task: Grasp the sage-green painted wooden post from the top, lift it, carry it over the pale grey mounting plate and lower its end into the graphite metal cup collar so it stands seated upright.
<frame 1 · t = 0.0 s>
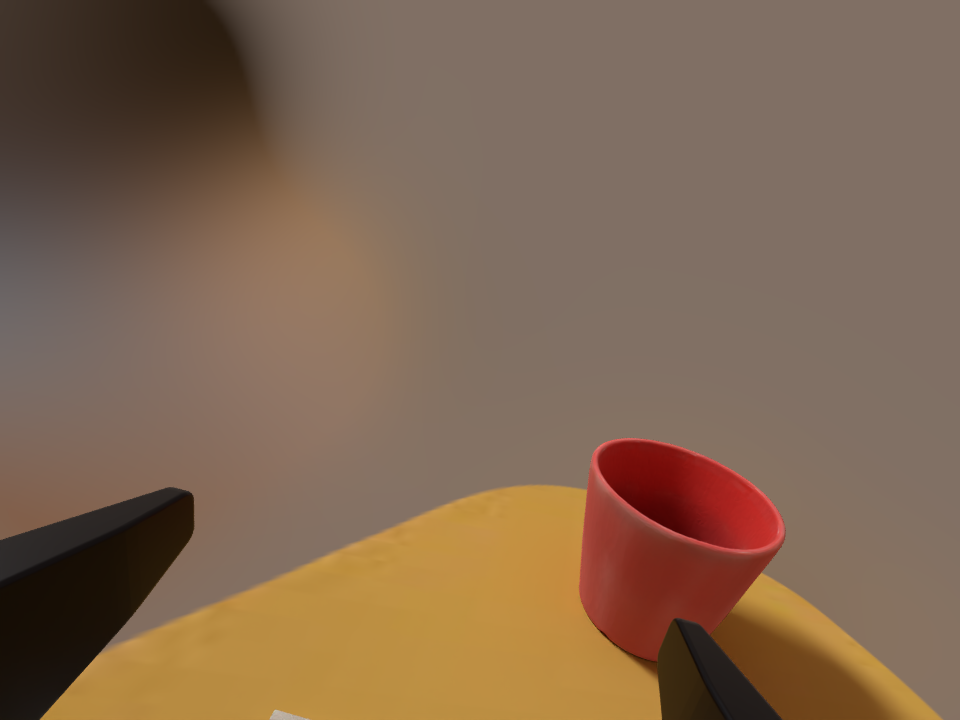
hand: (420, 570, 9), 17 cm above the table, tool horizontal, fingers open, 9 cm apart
flower pot: (635, 611, 31), on the table
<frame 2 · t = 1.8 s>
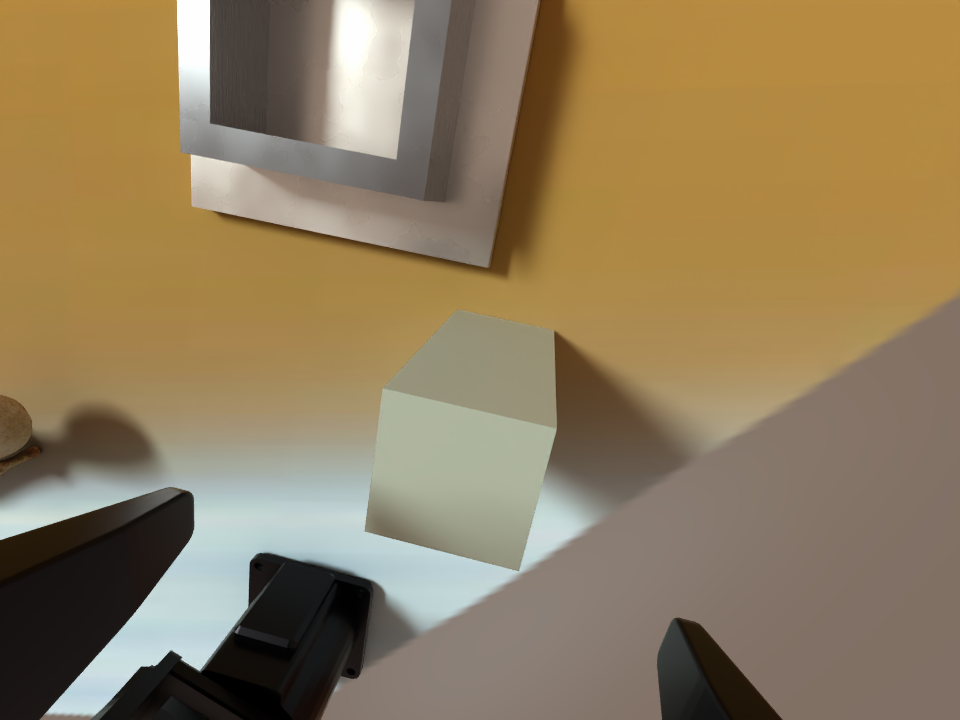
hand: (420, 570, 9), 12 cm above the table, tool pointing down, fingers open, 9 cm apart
figurine: (0, 438, 25), on the table
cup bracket: (359, 65, 17), on the table
rail post: (495, 365, 20), on the table
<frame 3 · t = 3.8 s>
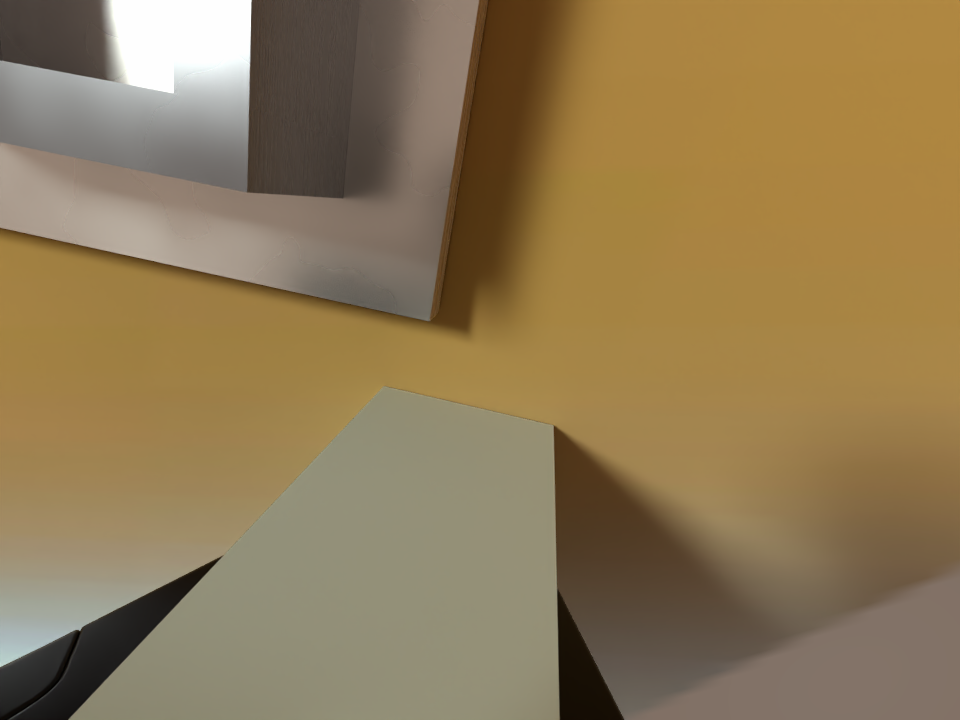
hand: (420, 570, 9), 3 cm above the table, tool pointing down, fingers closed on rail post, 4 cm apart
rail post: (453, 479, 11), on the table, touching gripper
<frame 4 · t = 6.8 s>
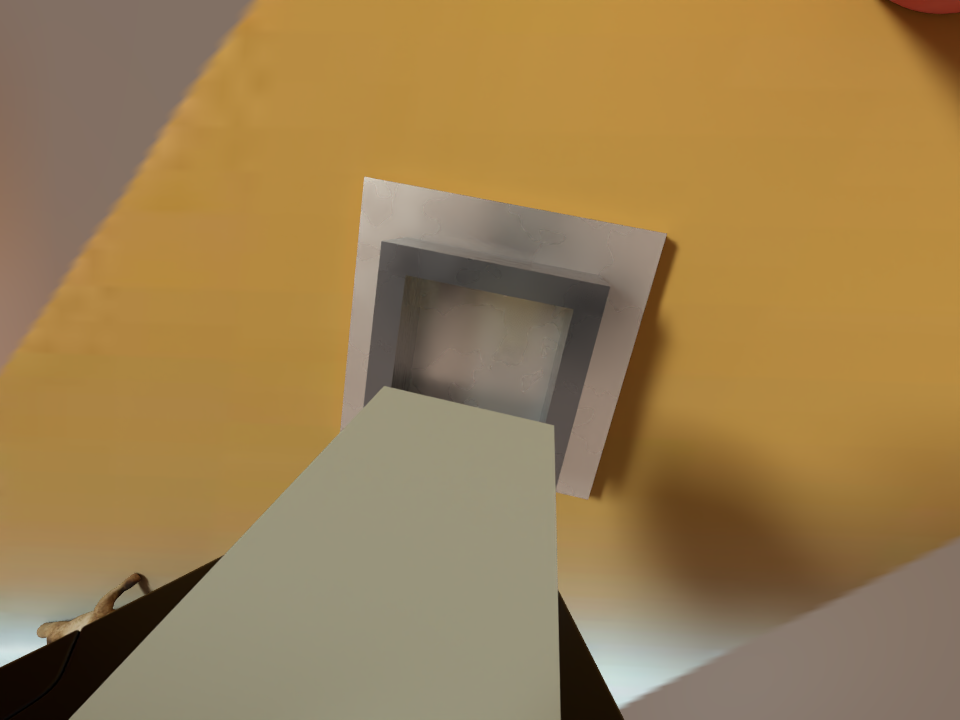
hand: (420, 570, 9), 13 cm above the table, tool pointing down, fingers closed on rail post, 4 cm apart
figurine: (133, 601, 29), on the table
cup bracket: (486, 344, 21), on the table
rail post: (453, 479, 11), point 10 cm above the table, touching gripper
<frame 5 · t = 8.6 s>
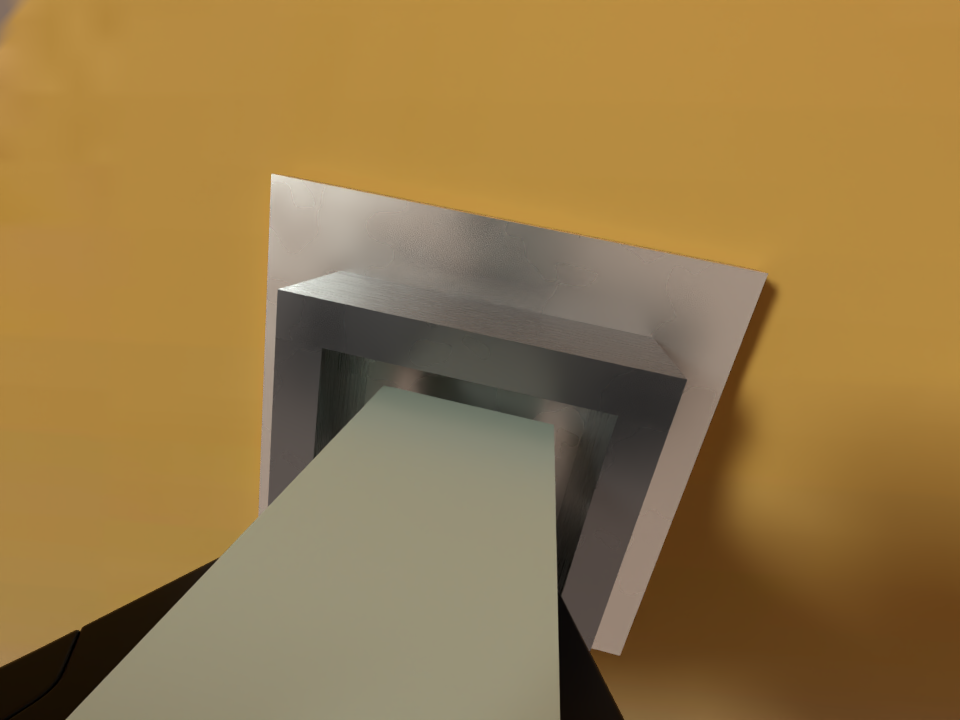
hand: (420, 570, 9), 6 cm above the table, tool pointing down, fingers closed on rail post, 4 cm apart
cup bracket: (470, 429, 14), on the table
rail post: (453, 478, 11), point 3 cm above the table, touching gripper
when the fingers open (5 cm above the table, at t = 9.9 s): rail post stays where it is, resting on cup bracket.
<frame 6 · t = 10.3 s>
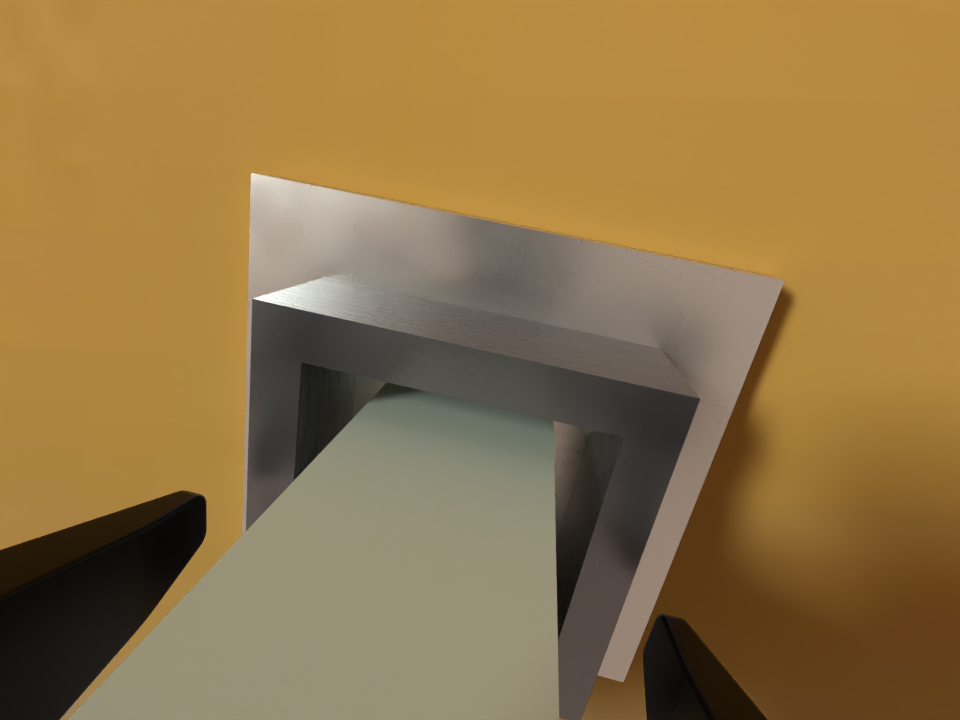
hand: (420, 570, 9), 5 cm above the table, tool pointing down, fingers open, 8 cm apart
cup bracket: (465, 444, 13), on the table
rail post: (460, 459, 12), point 1 cm above the table, touching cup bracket
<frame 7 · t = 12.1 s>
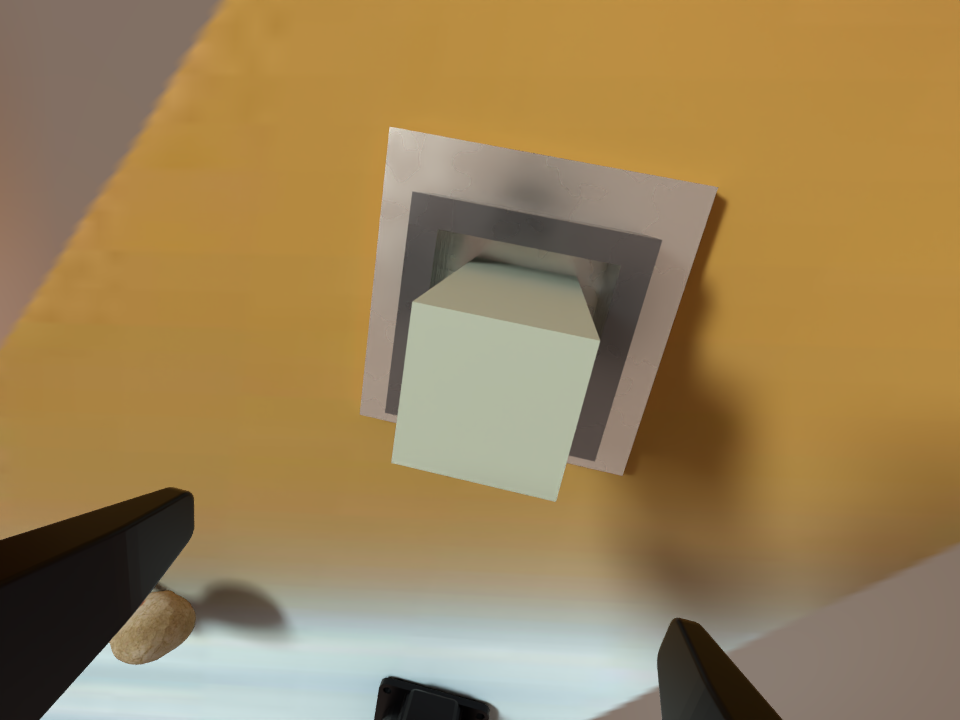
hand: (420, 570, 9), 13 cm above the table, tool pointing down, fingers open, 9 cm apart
figurine: (137, 591, 29), on the table
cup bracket: (516, 311, 20), on the table
rail post: (515, 316, 19), point 1 cm above the table, touching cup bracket
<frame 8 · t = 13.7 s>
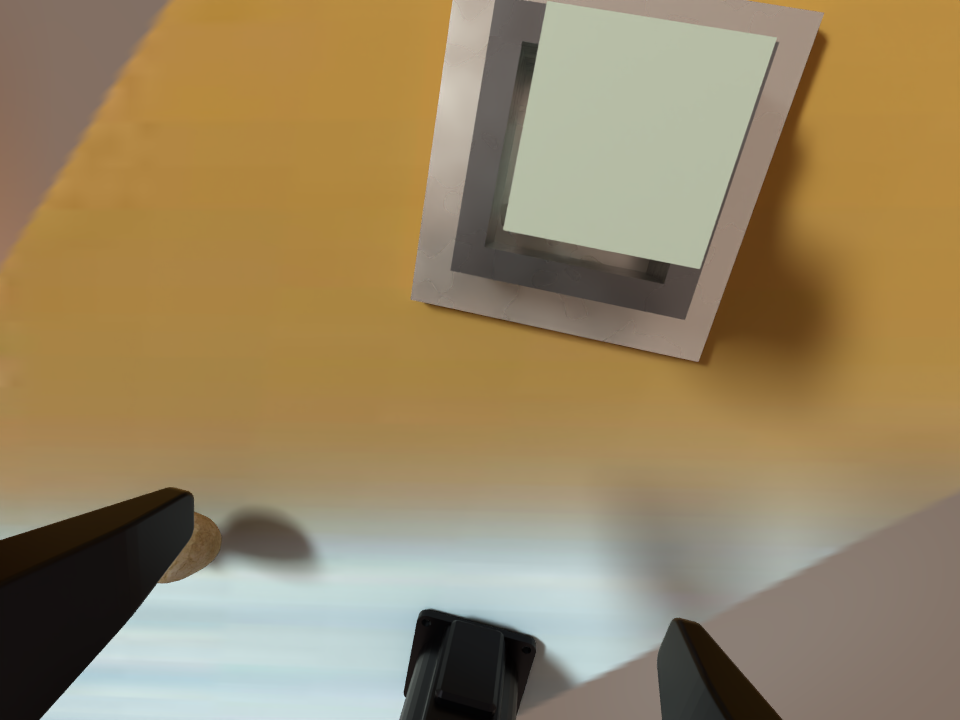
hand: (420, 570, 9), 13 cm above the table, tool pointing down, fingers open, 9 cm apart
figurine: (154, 523, 27), on the table
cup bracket: (587, 177, 18), on the table
rail post: (589, 176, 17), point 1 cm above the table, touching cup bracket
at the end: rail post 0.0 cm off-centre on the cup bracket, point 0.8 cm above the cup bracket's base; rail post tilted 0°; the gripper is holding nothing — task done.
